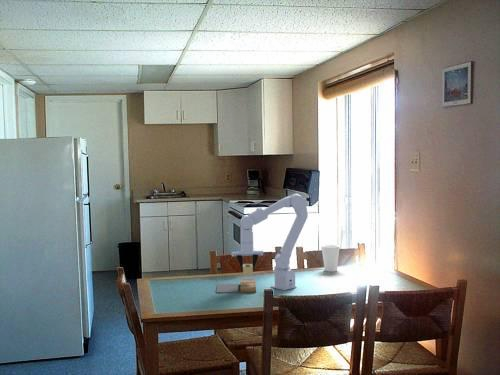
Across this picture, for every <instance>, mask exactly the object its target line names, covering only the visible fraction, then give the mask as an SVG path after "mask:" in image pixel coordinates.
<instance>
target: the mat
mask: <svg viewBox="0 0 500 375" xmlns="http://www.w3.org/2000/svg"><path fill="white" fill-rule="evenodd" d="M239 284H240V283H223V284H222V283H221V284H220V283H218V284H217V286H216V292H215V293H216V294H230V293H231V294H237V293H238V294H239V287H240V286H239Z"/></svg>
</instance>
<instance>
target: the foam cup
mask: <svg viewBox="0 0 500 375" xmlns="http://www.w3.org/2000/svg"><path fill="white" fill-rule="evenodd" d="M320 247H321V253H322V261H323V268H324V272H325V271H326V272H336V271H338V265H339V264H338V263H339V257H340V250H341V248H340V247H341V246H340V245H339V244H333V243H332V244H331V243H329V244H322V245H321V246H320Z"/></svg>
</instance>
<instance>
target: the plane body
mask: <svg viewBox="0 0 500 375" xmlns="http://www.w3.org/2000/svg"><path fill="white" fill-rule="evenodd" d="M239 284H240V286H239V287H240V291H239V292H240V294H254V293H257V284H256V278H240V283H239Z"/></svg>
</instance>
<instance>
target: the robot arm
mask: <svg viewBox="0 0 500 375" xmlns="http://www.w3.org/2000/svg"><path fill="white" fill-rule="evenodd" d="M291 207H292V208H293V210H294V213H295V215H296V216H295V219H294V221H293V223H292V225H291V227H290V230H289V231H288V234H287V236H286V238H285V240H284V243H283V245H282V247H281V248H280V249H279V252H278V253H276V254H275V256H274V262H275V266H274V268H273V269H274V271H273V272H274V275H273V276H274V284H273V285H270V288H274V289H277V290H283V291H286V290H291V289H296V288H297V285H296V274H295V271H294V270H292V269H291V266H290V259H291V256H292V252H293V250H294V247H295V245H296V244H297V241H298V239H299V237H300V235H301V232H302V230H303V228H304V227H305V226H304V225H305V224H306V222H307V220H308V217H309V216H308V208H307V202H306V200H305V199H304V197H303V196H302V195H300V194H299V193H293V194H291V195H287V196H286V197H283V198H281V199H280V200H278V201H276V202H275V203H272V204H271V205H269V206H268V207H260V208H259V207H257V208H256V210H254V211H252V212H251V213H249V212H248V213H247V215H244V216H242V217H241V219H240V222H239V224H240V226H241V227H240V251H239V250H237V251H231V257H236V259H237V261H238V263H239V266H240V268H241V270H240V271H241V273H243V257H246V256H247V257H249V256H250V257H252V265H253V273H254V272H255V270H256V269H255V267H256V265H257V261H258V259H259V256H264V251H263V250H254V232H253V226H256V225H258V224H260V223H262V222H264V221H265V220H268V217H269V215H271V214H273V213H275V212H277V211H278V210H281V209H283V208H291Z"/></svg>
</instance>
